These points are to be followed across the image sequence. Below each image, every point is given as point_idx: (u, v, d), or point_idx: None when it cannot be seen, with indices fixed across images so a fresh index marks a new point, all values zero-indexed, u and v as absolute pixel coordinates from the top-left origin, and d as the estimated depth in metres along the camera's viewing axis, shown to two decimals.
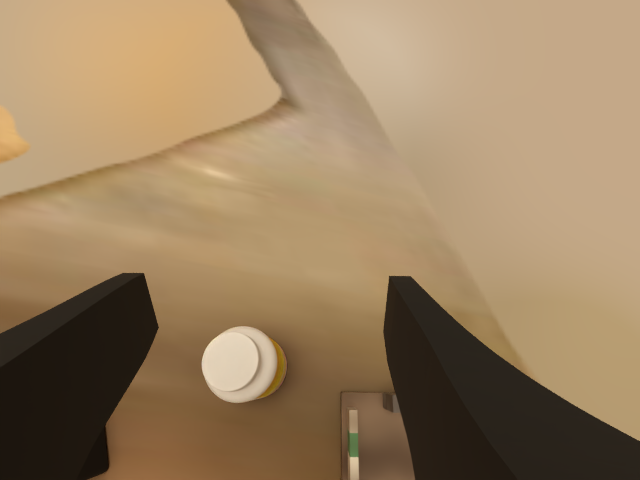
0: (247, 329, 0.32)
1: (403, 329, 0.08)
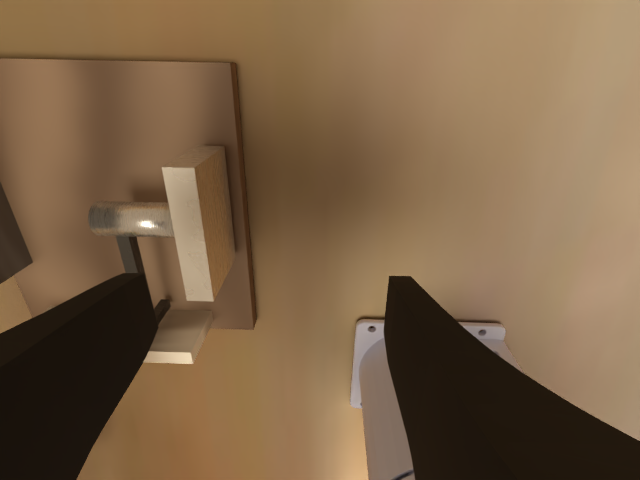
0: None
1: (403, 329, 0.08)
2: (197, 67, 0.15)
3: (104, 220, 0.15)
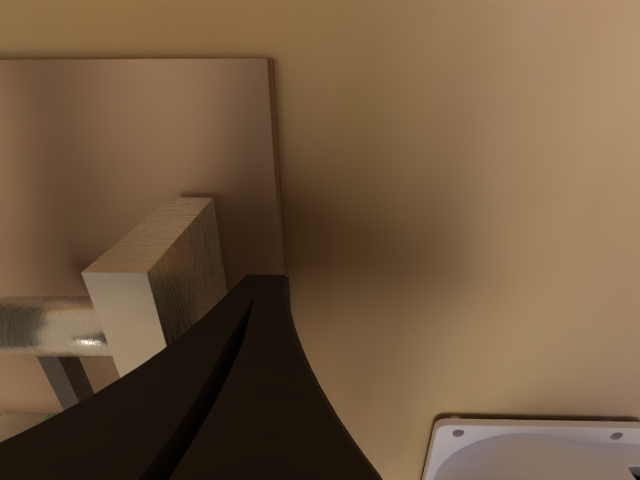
0: None
1: None
2: (210, 68, 0.09)
3: (7, 337, 0.09)
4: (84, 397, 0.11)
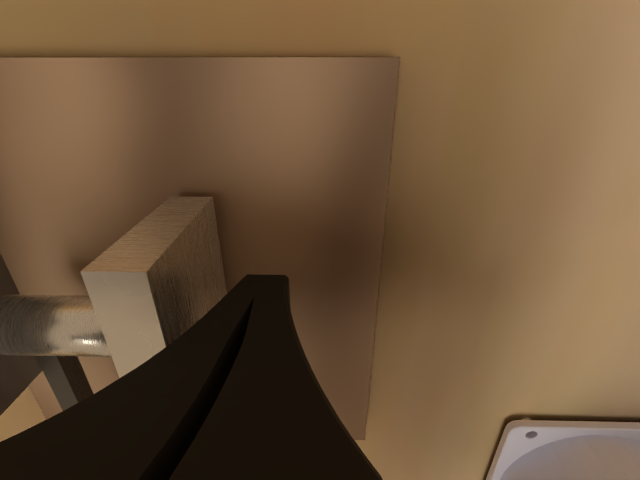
0: None
1: None
2: (340, 67, 0.09)
3: (6, 336, 0.09)
4: (83, 396, 0.11)
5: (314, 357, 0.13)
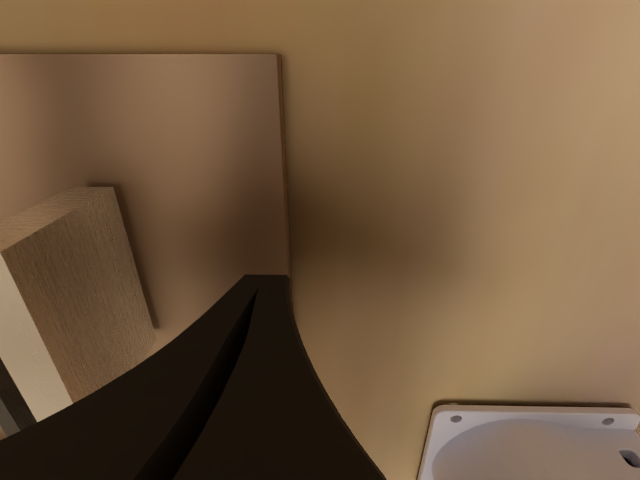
0: None
1: None
2: (222, 63, 0.09)
3: None
4: None
5: None
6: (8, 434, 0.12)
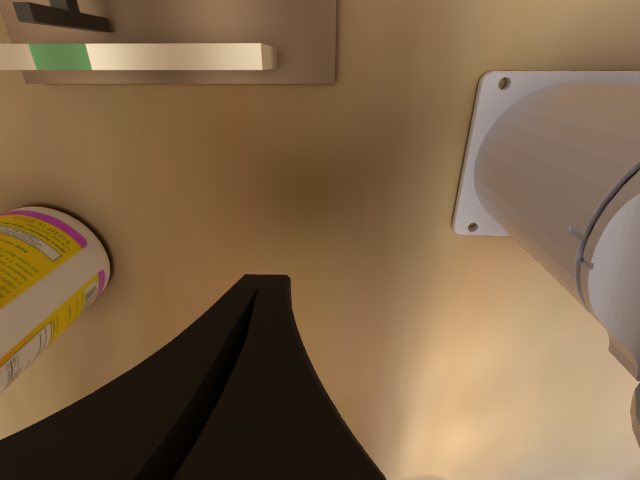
0: None
1: None
2: None
3: None
4: None
5: None
6: None
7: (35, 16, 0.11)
